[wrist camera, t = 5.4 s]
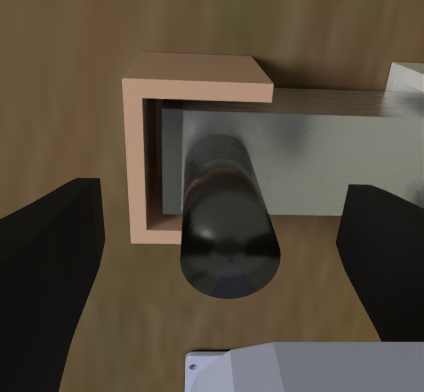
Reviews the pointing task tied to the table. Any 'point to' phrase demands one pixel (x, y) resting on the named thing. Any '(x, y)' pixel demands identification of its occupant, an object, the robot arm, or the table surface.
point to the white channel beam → (406, 78)
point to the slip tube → (278, 171)
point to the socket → (152, 123)
